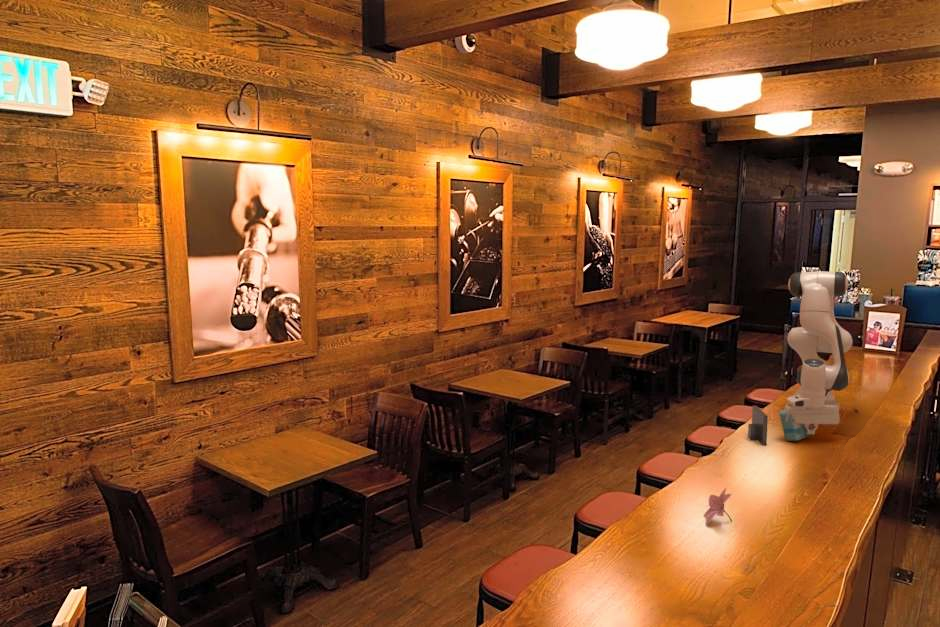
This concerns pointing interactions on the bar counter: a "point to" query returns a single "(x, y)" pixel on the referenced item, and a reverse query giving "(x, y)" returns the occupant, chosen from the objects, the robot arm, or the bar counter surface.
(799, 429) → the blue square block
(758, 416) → the bookend
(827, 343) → the robot arm
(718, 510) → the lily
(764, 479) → the bar counter surface
